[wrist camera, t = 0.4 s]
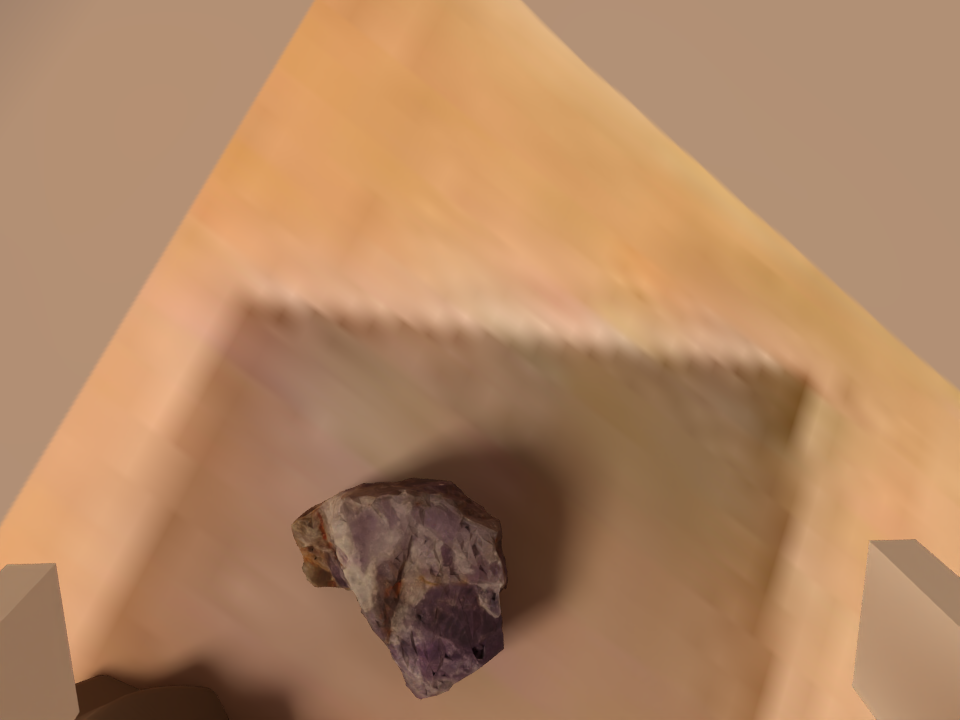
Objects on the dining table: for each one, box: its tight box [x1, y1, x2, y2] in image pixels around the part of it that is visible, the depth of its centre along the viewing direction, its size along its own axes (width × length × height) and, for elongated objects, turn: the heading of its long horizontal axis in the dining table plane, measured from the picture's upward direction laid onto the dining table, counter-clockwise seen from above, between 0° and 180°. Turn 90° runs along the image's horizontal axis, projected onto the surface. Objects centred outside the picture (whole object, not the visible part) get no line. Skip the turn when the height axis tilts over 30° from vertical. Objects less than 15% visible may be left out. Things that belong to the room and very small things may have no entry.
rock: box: [291, 478, 508, 699], centre depth 43 cm, size 12×9×10 cm
